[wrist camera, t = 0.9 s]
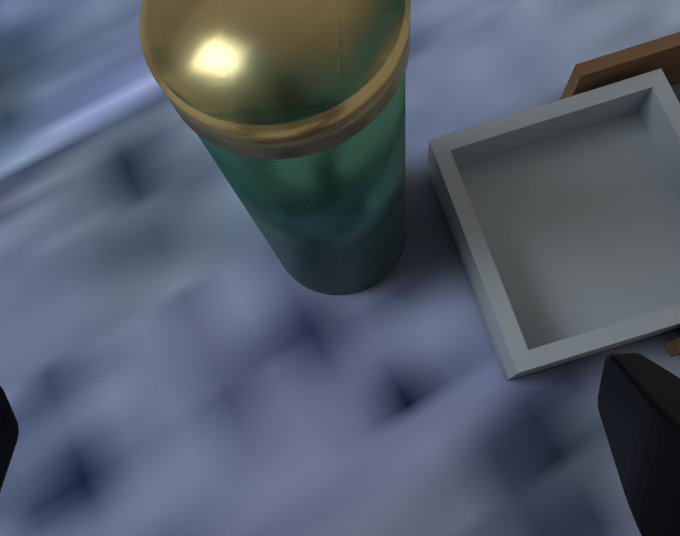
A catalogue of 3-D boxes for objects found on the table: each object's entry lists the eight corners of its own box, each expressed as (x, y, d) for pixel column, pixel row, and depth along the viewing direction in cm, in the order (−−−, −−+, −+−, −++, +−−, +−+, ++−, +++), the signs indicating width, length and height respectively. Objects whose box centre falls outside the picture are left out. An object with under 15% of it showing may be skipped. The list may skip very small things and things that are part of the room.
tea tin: (426, 273, 24) (449, 78, 11) (291, 315, 24) (169, 166, 11) (383, 152, 25) (363, -134, 13) (257, 192, 26) (118, -55, 13)
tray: (743, 308, 22) (780, 292, 20) (506, 380, 22) (517, 373, 20) (638, 102, 25) (661, 68, 23) (427, 168, 25) (429, 140, 23)
